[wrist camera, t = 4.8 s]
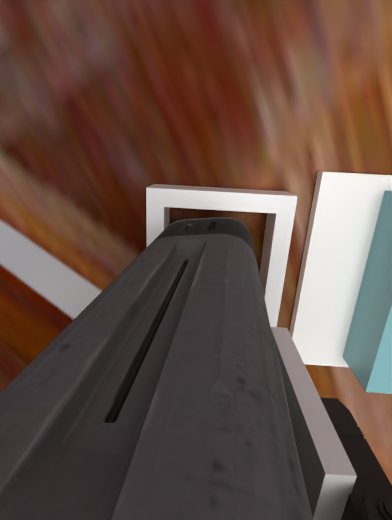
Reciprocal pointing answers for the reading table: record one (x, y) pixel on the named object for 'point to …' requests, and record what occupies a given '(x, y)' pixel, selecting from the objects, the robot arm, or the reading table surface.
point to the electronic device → (158, 397)
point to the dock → (348, 279)
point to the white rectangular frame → (231, 199)
